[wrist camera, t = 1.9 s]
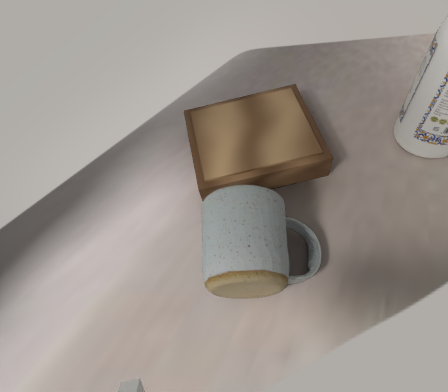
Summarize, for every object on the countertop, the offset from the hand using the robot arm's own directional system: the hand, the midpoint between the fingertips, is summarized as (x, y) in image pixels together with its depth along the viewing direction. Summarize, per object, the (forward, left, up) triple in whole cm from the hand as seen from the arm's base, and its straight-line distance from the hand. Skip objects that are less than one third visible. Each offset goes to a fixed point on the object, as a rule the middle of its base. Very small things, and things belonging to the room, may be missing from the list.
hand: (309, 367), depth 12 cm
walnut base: (+3, +24, -15) cm, 28 cm away
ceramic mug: (0, +11, -15) cm, 18 cm away
